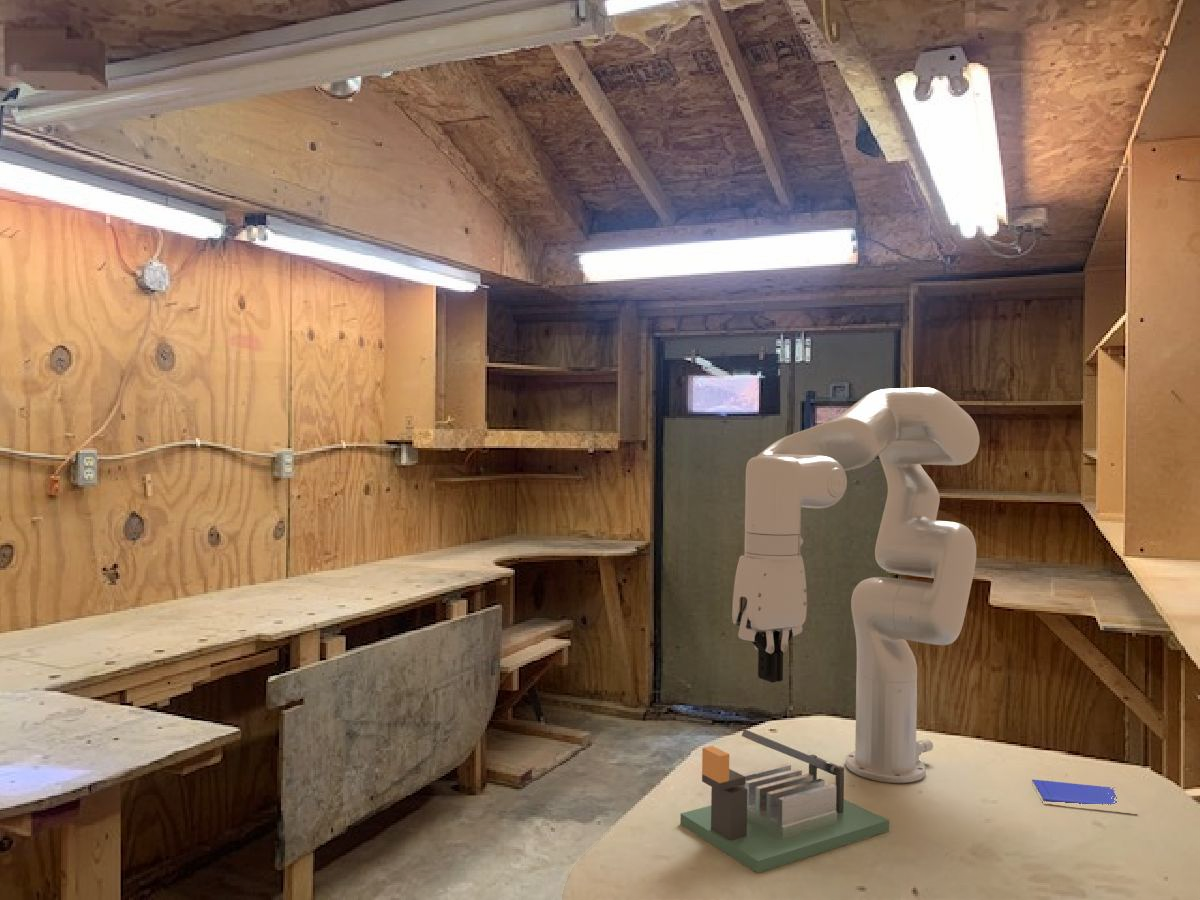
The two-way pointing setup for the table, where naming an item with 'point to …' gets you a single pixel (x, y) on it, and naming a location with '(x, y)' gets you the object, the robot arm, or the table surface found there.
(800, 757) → the strap
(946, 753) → the table surface
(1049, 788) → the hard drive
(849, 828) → the board
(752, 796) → the heat sink
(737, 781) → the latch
